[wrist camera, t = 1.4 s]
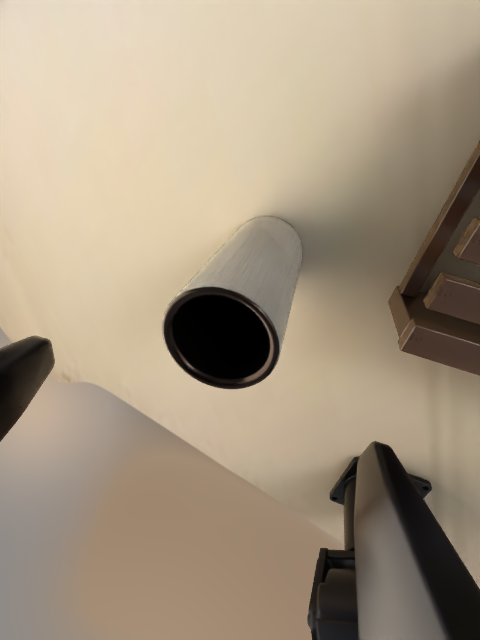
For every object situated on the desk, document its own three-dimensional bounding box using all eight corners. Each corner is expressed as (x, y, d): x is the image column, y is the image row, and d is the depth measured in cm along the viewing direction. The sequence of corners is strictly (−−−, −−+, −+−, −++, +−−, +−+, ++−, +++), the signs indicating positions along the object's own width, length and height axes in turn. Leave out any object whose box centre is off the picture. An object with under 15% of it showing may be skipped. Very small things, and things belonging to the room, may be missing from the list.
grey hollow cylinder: (240, 288, 22) (181, 390, 14) (224, 221, 20) (143, 293, 12) (307, 281, 21) (288, 391, 12) (297, 209, 19) (267, 280, 10)
